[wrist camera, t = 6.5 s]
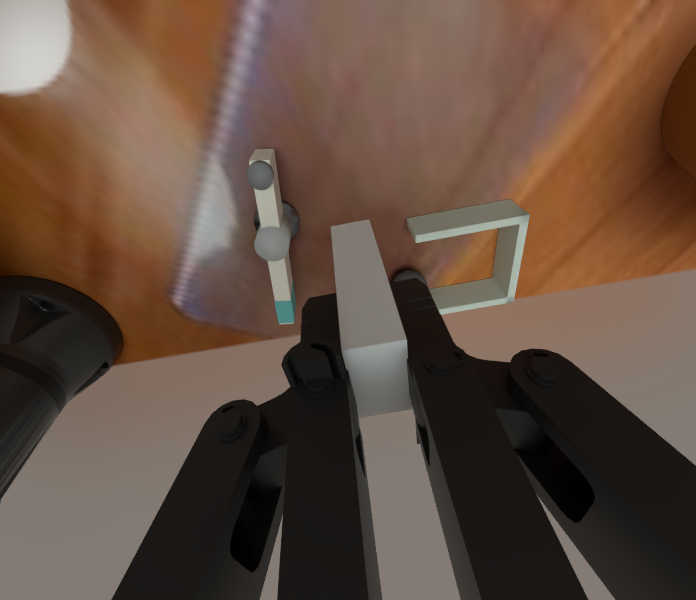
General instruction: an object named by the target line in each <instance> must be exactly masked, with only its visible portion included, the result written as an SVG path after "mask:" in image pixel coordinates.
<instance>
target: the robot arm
mask: <svg viewBox="0 0 696 600" xmlns="http://www.w3.org/2000/svg"><path fill="white" fill-rule="evenodd" d="M331 236H332V247H333V259H334V270H335V282H336V293H334V294H328V295H323V296H317V297H312V298H309V299H308V300H307V302H306V304H305V305H304V307H303V309H302V323H301V342H300V343H298V344H297V345H295V346H294V347H292V348H291V349H290V350H289V351H288V352H287V354H286V355H285V356H284V359H283V362H282V368H283V370H284V372H285V375H286V377H287V379H288V382H289V384H290V386H291V387H290V388H289V389H287V390H286V391H285V392H284V393H282V394H281V395H279V396H277V397H276V398H273V399H271V400H269V401H267V402H265V403H263V404H261V405H259V406H256V405H255V404H254V403H253V402H251V401H248V400H244V399H243V400H235V401H231V402H229V403H227V404H225V405H222V406H221V407H220V408H218V409H217V410H216V411H215V412H213V413H212V414H211V416H210V417H209V418H208V420H207V421H206V423H205V424H204V426H203V428H202V430H201V432H200V434H199V435H198V437H197V439H196V441H195V443H194V445H193V447H192V449H191V451H190V452H189V454H188V456H187V458H186V460H185V462H184V464H183V466H182V468H181V469H180V471H179V473H178V475H177V477H176V479H175V481H174V483H173V485H172V486H171V489H170V490H169V492H168V494H167V496H166V498H165V500H164V502H163V503H162V506H161V507H160V509H159V511H158V513H157V515H156V517H155V519H154V520H153V522H152V525H151V526H150V528H149V530H148V532H147V534H146V536H145V538H144V539H143V541H142V543H141V545H140V547H139V549H138V551H137V553H136V555H135V557H134V558H133V560H132V562H131V564H130V566H129V568H128V570H127V571H126V574H125V575H124V577H123V579H122V581H121V583H120V585H119V587H118V588H117V590H116V592H115V594H114V596H113V598H112V600H259V599H260V596H261V592H262V588H263V585H264V581H265V577H266V573H267V570H268V566H269V563H270V559H271V555H272V551H273V548H274V544H275V540H276V537H277V533H278V529H279V526H280V522H281V518H282V515H283V522H282V537H281V552H280V567H279V582H278V598H277V600H382V595H381V587H380V579H379V570H378V562H377V554H376V546H375V538H374V530H373V522H372V513H371V505H370V497H369V489H368V481H367V474H366V465H365V457H364V449H363V441H362V435H361V431H360V428H359V419H358V418H361V417H367V416H373V415H378V414H384V413H390V412H397V411H403V410H409V409H412V406H413V410H414V414H415V418H416V433H417V443H420V445H421V449H422V453H423V456H424V460H425V464H426V468H427V472H428V475H429V479H430V483H431V487H432V491H433V494H434V498H435V502H436V506H437V510H438V514H439V518H440V521H441V525H442V529H443V533H444V537H445V541H446V544H447V548H448V552H449V556H450V560H451V563H452V567H453V571H454V575H455V579H456V583H457V586H458V590H459V594H460V598H461V600H588V598H587V596H586V594H585V592H584V590H583V588H582V586H581V584H580V582H579V580H578V579H577V576H576V574H575V572H574V570H573V568H572V566H571V564H570V562H569V560H568V558H567V556H566V553H565V552H564V550H563V548H562V545H561V543H560V541H559V539H558V538H557V535H556V533H555V531H554V529H553V527H552V525H551V523H550V521H549V519H548V517H547V515H546V513H545V511H544V509H543V507H542V505H541V503H540V501H539V499H538V497H539V498H540V499H541V501H542V502H543V503H544V505H545V506H546V507H547V509H548V510H549V511H550V512H551V514H552V515H553V517H554V518H555V519H556V521H557V522H558V523H559V525H560V526H561V527H562V528H563V530H564V531H565V533H566V534H567V535H568V536H569V538H570V539H571V541H572V542H573V543H574V545H575V546H576V547H577V548H578V550H579V551H580V552H581V554H582V555H583V557H584V558H585V559H586V561H587V562H588V563H589V565H590V566H591V567H592V569H593V570H594V571H595V573H596V574H597V575H598V577H599V578H600V579H601V581H602V582H603V583H604V585H605V586H606V587H607V589H608V590H609V592H610V593H611V594H612V596H613V597H614V598H615V600H696V466H695V465H694V464H693V463H691V462H690V461H689V460H688V459H687V458H686V457H685V456H683V455H682V454H681V453H680V452H679V451H677V450H676V449H675V448H674V447H673V446H671V445H670V444H669V443H668V442H667V441H665V440H664V439H663V438H662V437H661V436H659V435H658V434H657V433H656V432H655V431H653V430H652V429H651V428H649V426H647V425H646V424H645V423H644V422H643V421H641V420H640V419H639V418H638V417H637V416H635V415H634V414H633V413H632V412H631V411H629V410H628V409H627V408H626V407H625V406H623V405H622V404H621V403H620V402H619V401H617V400H616V399H615V398H614V397H613V396H611V395H610V394H609V393H608V392H606V391H605V390H604V389H603V388H602V387H601V386H599V385H598V384H597V383H596V382H595V381H593V380H592V379H591V378H590V377H588V376H587V375H586V374H585V373H584V372H582V371H581V370H580V369H579V368H578V367H577V366H575V365H574V364H573V363H572V362H570V361H569V360H568V359H566V358H564V357H563V356H561V355H560V354H557V353H554V352H551V351H548V350H544V349H528V350H523V351H520V352H519V353H517V354H516V355H514V356H513V358H512V360H511V362H499V361H488V360H482V359H477V358H475V357H472V356H469V355H468V354H466V353H465V352H464V351H463V350H462V349H461V348H459V347H457V346H456V345H455V343H454V342H453V340H452V338H451V336H450V334H449V332H448V329H447V327H446V325H445V323H444V321H443V319H442V316H441V314H440V312H439V310H438V308H437V307H436V304H435V302H434V299H432V295H431V293H430V291H429V289H428V287H427V285H425V284H424V283H423V282H421V281H420V280H419V279H418V278H411V279H406V280H400V281H395V282H389V281H388V278H387V275H386V272H385V269H384V265H383V262H382V259H381V256H380V253H379V249H378V246H377V243H376V240H375V237H374V233H373V230H372V227H371V224H370V221H369V219H368V220H363V221H358V222H352V223H347V224H342V225H336V226H331ZM121 349H122V336H121V333H120V330H119V328H118V326H117V325H116V323H115V322H114V320H113V319H112V318H111V316H110V315H109V314H108V313H107V312H106V311H105V310H104V309H103V308H101V307H100V306H99V305H98V304H96V303H95V302H94V301H92V300H91V299H89V298H88V297H86V296H84V295H83V294H81V293H79V292H77V291H75V290H73V289H71V288H68V287H66V286H63V285H61V284H58V283H55V282H51V281H48V280H43V279H38V278H32V277H22V276H11V277H2V278H0V503H1V498H2V497H3V495H4V494H5V492H6V491H7V489H8V488H9V487H10V485H11V484H12V482H13V481H14V479H15V478H16V476H17V475H18V473H19V472H20V470H21V469H22V467H23V466H24V465H25V463H26V461H27V460H28V459H29V457H30V455H31V454H32V453H33V451H34V450H35V448H36V447H37V446H38V444H39V443H40V441H41V440H42V438H43V437H44V435H45V434H46V432H47V431H48V430H49V428H50V427H51V425H52V424H53V422H54V421H55V419H56V418H57V416H58V415H59V413H60V412H61V411H62V409H63V408H64V406H65V405H66V404H67V403H68V402H69V401H70V400H71V399H73V398H74V397H75V396H76V395H78V394H79V393H81V392H82V391H83V390H85V388H87V387H88V386H90V385H91V384H92V383H94V382H95V381H96V380H97V379H99V378H100V377H101V376H103V375H104V374H105V373H106V372H107V371H108V370H109V369H110V368H111V367H112V365H113V363H114V362H115V360H116V359H117V357H118V356H119V354H120V352H121ZM536 494H537V495H538V497H537V495H536Z"/></svg>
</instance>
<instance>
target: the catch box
mask: <svg viewBox="0 0 696 600" xmlns="http://www.w3.org/2000/svg"><path fill="white" fill-rule="evenodd" d="M529 216H530V214H528V213H527V212H526V211H525V210H523V209H522V208H521V207H520V206H518V205H517V204H516V203H514V202H513V201H512V200H511V199H507V200H502V201H497V202H491V203H486V204H481V205H475V206H470V207H464V208H459V209H454V210H448V211H443V212H438V213H432V214H427V215H422V216H416V217H411V218H406V220H407V227H408V229H409V231H410V232H411V234H412V236H413V238H414V240H415V242H416V243H419V242H424V241H430V240H435V239H441V238H446V237H452V236H457V235H462V234H468V233H473V232H479V231H484V230H490V229H495V228H499V229H498V237H497V245H496V253H495V261H494V268H493V276H492V278H488V279H483V280H477V281H472V282H466V283H460V284H455V285H449V286H444V287H438V288H432V289H429V291H430V293H431V295H432V299H434V302H435V304H436V307H437V308H438V310H439V312H440V314H447V313H453V312H458V311H464V310H470V309H475V308H481V307H487V306H493V305H498V304H504V303H509V302H514V297H515V291H516V286H517V281H518V275H519V270H520V265H521V259H522V254H523V248H524V243H525V238H526V232H527V227H528V222H529Z"/></svg>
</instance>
